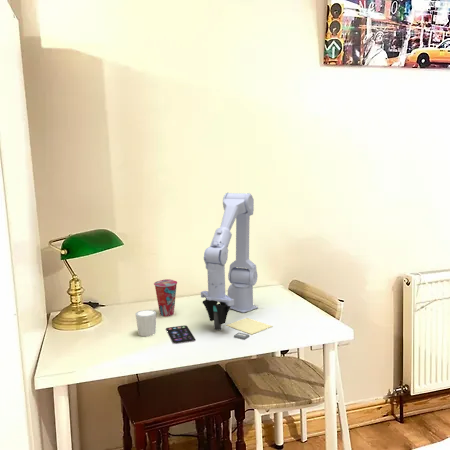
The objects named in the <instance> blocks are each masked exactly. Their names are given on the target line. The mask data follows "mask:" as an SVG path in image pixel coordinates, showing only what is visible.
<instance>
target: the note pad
mask: <svg viewBox="0 0 450 450" xmlns="http://www.w3.org/2000/svg"><path fill="white" fill-rule="evenodd" d="M226 326H227V327H229V328H232V329H234V330H237V331H240V332H241V333H242V332H243V333H244V334H248V335H251V336H252V335H254V334H257V333H260V332H262V331H265V330H268V329H271V328H273V325H270V324H269V323H268V324H267V323H264V322H262V321H258V320H255V319H253V318H249V317H245V318H242V319H239V320H236V321H234V322H232V323H228V324H226ZM270 327H271V328H270ZM267 328H268V329H267Z"/></svg>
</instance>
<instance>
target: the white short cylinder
mask: <svg viewBox="0 0 450 450" xmlns="http://www.w3.org/2000/svg"><path fill="white" fill-rule="evenodd" d="M135 321H136V326H137V327H136V328H137V331H138V332H137V333H138V335H139V337H150V335H151V336H154V335H155V334H156V331H157V330H156V328H157V327H156V325H157V311H155V310H153V309H145V310H144V309H143V310H139V311H137V312H135ZM153 334H154V335H153Z"/></svg>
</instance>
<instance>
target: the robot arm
mask: <svg viewBox="0 0 450 450" xmlns="http://www.w3.org/2000/svg"><path fill="white" fill-rule="evenodd" d="M222 206H223V207H222V208H223V210H224V211H223V214H222V215H223V216H222V219H221V223H220V226H219V227H218V228H216V229H215V232H214V235H213V237H212V240H211V243H210V245H209V247H207V248H205V250H204V254H203V261H204V264H205V269H206V270H207V290H203V291H200V298H205V299H204V300H202V304H203V305H204V307H205V310H206V311H207V312H206V313H207V316H208V319H209V321H210V322H214V311H213V306H214V305H215V306H216V309H217V312H218V318H219V324H220V325H221V326H222V325H225V324H226V321H227V317H228V314H229V311H230V310H234V311H237V312H240V313H246V312H251V311H253V310H255V309H258V308H259V307H258V306H257V305H254V293H253V292H254V287H253V286H255V285H256V284H257V281H258V272H257V264H255V263H254V262H253V261H252V260H250V217H251V216H253V215H254V209H255V207H254V206H255V205H254V197H253V195H252V193H250V192H248V193H244V192H243V193H242V192H241V193H240V192H239V193H238V192H237V193H235V192H225V194H224V195H223V198H222ZM234 224H235V227H236V228H235V260H233V261H232V262H231V263H230V265H229V271H228V276H227V277H228V278H227V279H228V281H229V283H230V285H228V288H227V294H226V274H225V273H226V270H225V269H226V267H225V265H226V263H228V262H227V261H228V254H229V249H228V248H229V245H230V243H231V239H232V235H233V234H232V232H231V229H232V228H233V225H234Z"/></svg>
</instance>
